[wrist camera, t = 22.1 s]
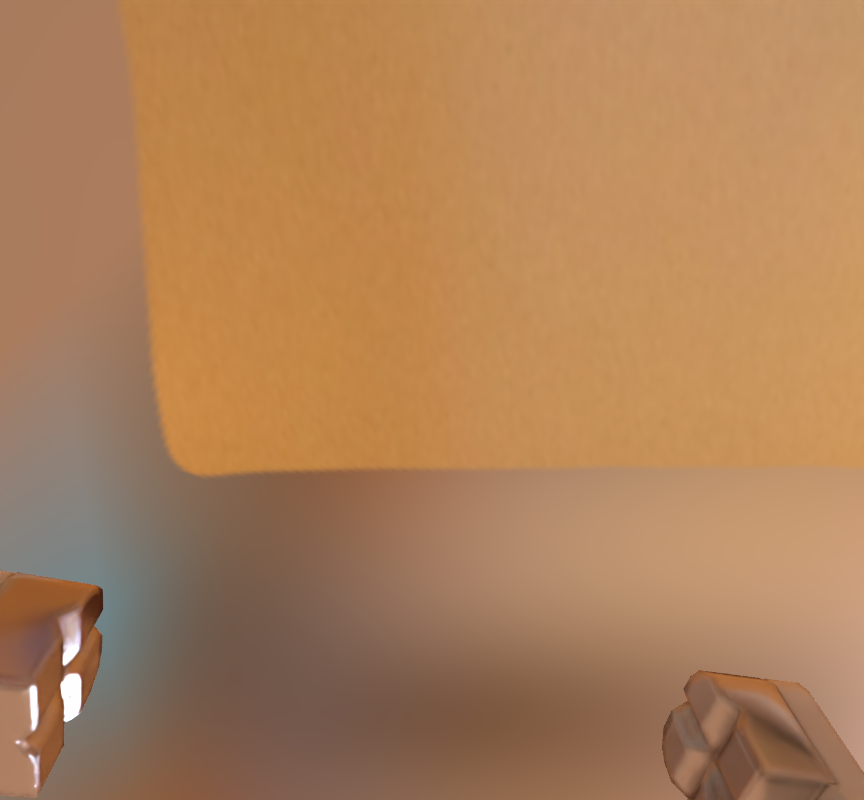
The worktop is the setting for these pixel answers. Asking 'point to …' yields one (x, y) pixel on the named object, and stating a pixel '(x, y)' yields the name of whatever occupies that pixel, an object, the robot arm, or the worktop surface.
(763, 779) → the robot arm
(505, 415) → the worktop surface
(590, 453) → the worktop surface
